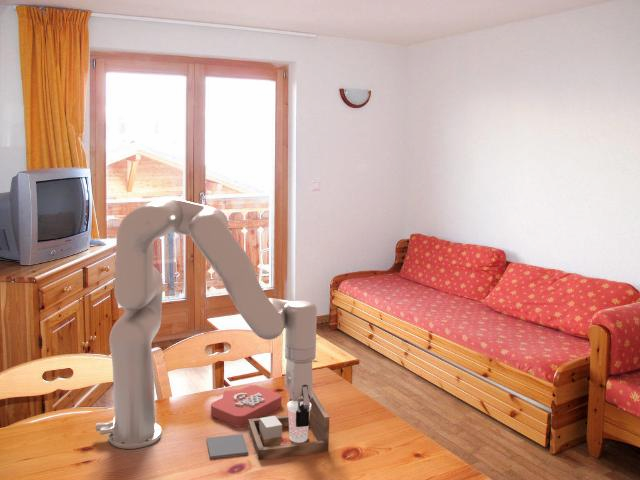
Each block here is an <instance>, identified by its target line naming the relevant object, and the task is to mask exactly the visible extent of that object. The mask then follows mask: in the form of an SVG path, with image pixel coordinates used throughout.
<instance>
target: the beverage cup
mask: <svg viewBox="0 0 640 480" xmlns="http://www.w3.org/2000/svg"><path fill="white" fill-rule="evenodd" d="M299 399H300V398H299ZM301 404H303V401H302V402H300V406H301ZM286 408H287V411H288V412H287V413H288V417H289V426H288V435H289V436H288V437H289V440H290V441H291V442H293V443H305V442H306V441H307V440H308V438H309V437H308V436H309V428H310V426H309V425H308V426H304V427H296V411H297V401H295V402H294V401H293V400H292V401H290V400H289V401H288V402H287V404H286ZM310 410H311V403H310V406H309V416H310Z"/></svg>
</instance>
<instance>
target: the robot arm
mask: <svg viewBox="0 0 640 480" xmlns="http://www.w3.org/2000/svg"><path fill="white" fill-rule="evenodd" d="M170 233H175V234H180V235H183V236H188V237H190V238H191V240H192V242H193V243H194V244H195V247H197V249H198V250H199V251H200V253H201V255H203V258H205V260H206V261H207V262H208V263H209V265H210V266H211V268H212V269H213V270H214V272H215V273H216V275H217V276H218V277H219V279H220V280H221V283H222V284H223V286H224V288H225V291H226V292H227V295H229V298H230V299H231V301H232V302H233V304H234V306H235V309H236V310H237V311H238V312H239V314H240V316H241V317H242V319H243V320H244V321H245V322H246V324H247V325H248V327H249V328H250V330H252V332H253V333H254V334H255V335H256V336H257V337H259V338H261V339H263V340H268V341H269V340H275V339H277V338H278V337H279V336H281V334H282V333H283V331H285V333H284V334H285V339H284V341H285V347H284V348H285V349H284V351H285V352H284V354H285V355H284V358H285V359H286V365H285V378H284V379H285V380H284V382H285V383H284V387H285V391H286V393H287V394H288V396H289V401H292V400H293V401H294V402H295V401H297V411H296V427H304V426H308V425H309V406H310V402H309V400H311V398H312V390H313V385H314V383H313V380H314V379H313V378H314V377H313V376H314V375H313V369H314V368H313V361H314V360H315V359H316V356H317V355H316V353H317V319H318V318H317V317H318V316H317V315H318V308H317V306H316V304H315V303H313V302H312V301H309V300H293V301H292V300H285V299H280V298H276V297H274V298H273V297H268V296H267V294H266V293H265V291H264V290H263V287H262V286H261V284H260V282H259V280H258V277H257V273H256V271H255V265H254V264H253V262H252V260H251V258H250V256H249V255H248V254H247V252H246V251H245V249H244V248H243V247H242V245H241V244H240V243H239V241H238V240H237V238H236V237H235V235H234V234H233V232H232V231H231V229H230V228H229V220H228V217H227V216H226V214H225V213H224V212H223V211H222V210H220V209H218V208H216V207H213V206H208V205H204V204H199V203H197V202H196V203H195V202H191V201H187V200H183V199H179V198H174V197H159V198H156V199H154V200H151V201H149V202H147V203H145V204H142V205H141V206H139V207H137V208H135V209H133V210H131V211H130V212H128V213H127V214H126V215H125V216H124V218H123V219H122V220H121V222H120V224H119V226H118V229H117V233H116V244H115V245H116V246H115V247H116V248H115V249H116V251H115V253H116V254H115V267H114V268H115V269H114V270H115V271H114V297H115V300H116V303H117V304H118V305H119V306H120V307H121V308H122V309H123V314H122V315H121V316H120V317H119V318H118V319H117V320H116V321H115V323H114V324H113V325H112V327H111V330H110V333H109V339H108V340H109V341H108V343H109V350H110V351H109V352H110V355H111V362H112V380H113V405H114V409H113V411H114V417H113V420H109V422H98V423H97V422H96V423H95V432H100V433H99V434H100V435H102V436H103V435H108V442H109V443H110V444H111V445H112V446H114V447H116V448H119V449H126V450H127V449H128V450H132V449H140V448H145V447H148V446H150V445H152V444H154V443H156V442H157V441H158V440H160V439H161V437H162V427H161V426H160V425H159V424H158V423H156V412H155V411H156V410H155V409H156V408H155V405H156V404H155V403H156V402H155V368H154V357H153V352H152V342H153V340H154V338H155V337H156V336H157V334H158V333H159V330H160V328H161V324H162V313H163V312H162V309H163V308H162V307H163V279H162V276H161V273H160V271H159V270H158V269H157V268H156V267H155V266H154V242H155V241H156V240H158V239H159V238H162V237H165V236H167V235H169V234H170ZM284 329H285V330H284ZM313 391H314V390H313ZM299 398H300V399H299ZM302 401H303V404H301V406H300V402H302Z"/></svg>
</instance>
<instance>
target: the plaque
mask: <svg viewBox="0 0 640 480" xmlns="http://www.w3.org/2000/svg"><path fill="white" fill-rule="evenodd" d="M282 400H283V399H282V395H281V394H280V393H278V392H275V391H273V390H271V389H268V388H264V387H262V386H259V385H253V384H252V385H251V384H250V385H248V386H246V387H244V388H241V389H233V390H224V391H223V392H222V397H221V398H219V399H217V400H216V401H213V402H211V403H210V415H211V416H212V417H213V418H216V419H218V420H221V421H223V422H224V423H227V424H230V425H233V426H235V427H244V426H247V425H248V419H256V418H263V416H266V415H268V414H269V413H271V412H273V411H275V410H277V409H279V408H280V407H282Z"/></svg>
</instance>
